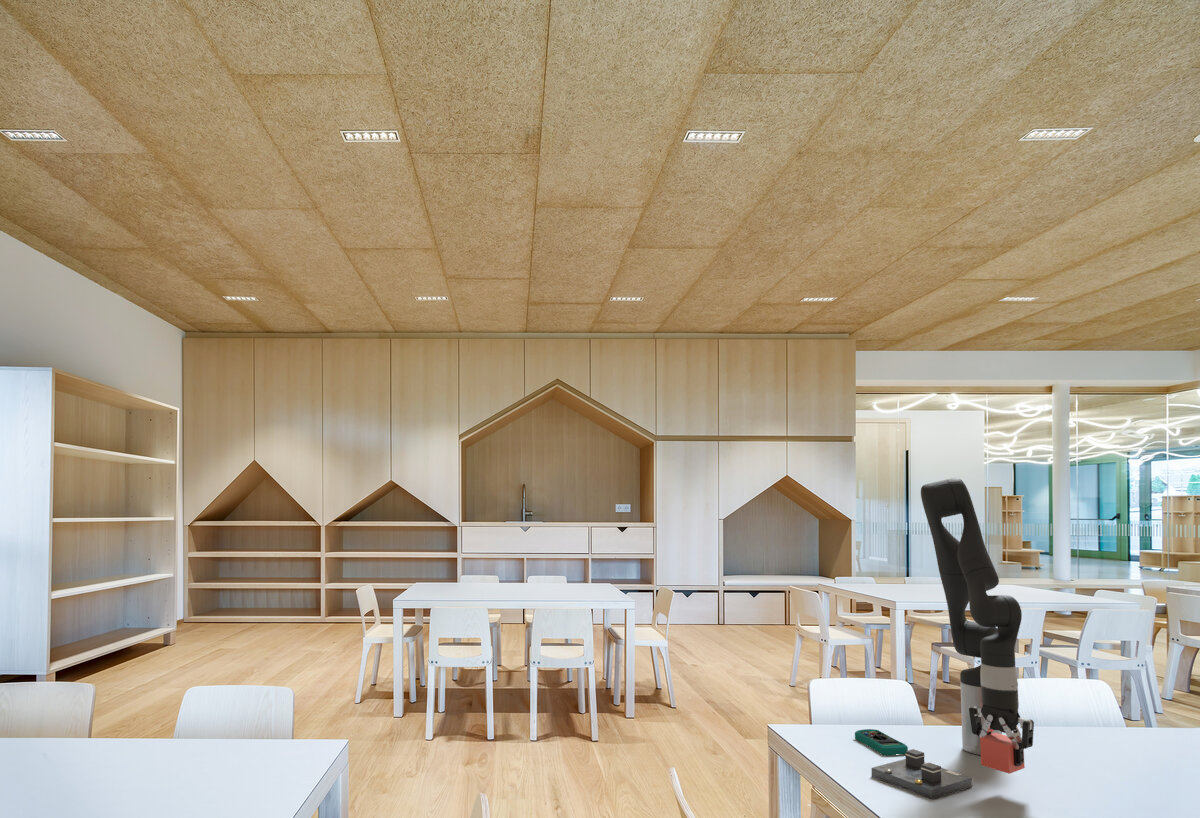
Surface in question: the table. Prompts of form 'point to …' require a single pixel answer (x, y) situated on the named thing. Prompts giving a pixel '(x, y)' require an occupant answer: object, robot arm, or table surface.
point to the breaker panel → (913, 781)
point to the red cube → (998, 753)
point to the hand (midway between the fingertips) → (1002, 760)
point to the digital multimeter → (880, 742)
